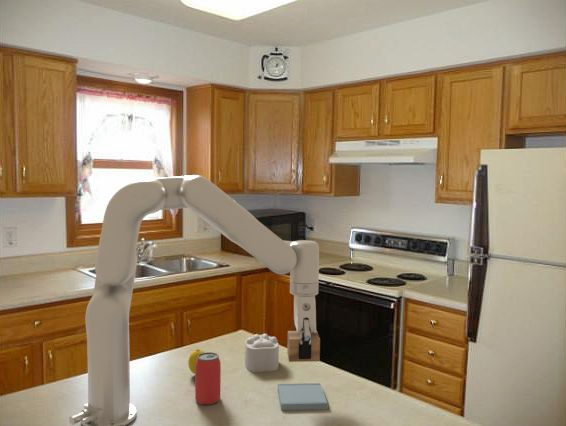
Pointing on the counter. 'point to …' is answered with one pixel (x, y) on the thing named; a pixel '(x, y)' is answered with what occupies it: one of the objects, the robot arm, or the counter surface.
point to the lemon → (194, 359)
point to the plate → (301, 396)
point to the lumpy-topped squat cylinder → (261, 353)
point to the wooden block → (294, 347)
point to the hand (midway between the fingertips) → (303, 352)
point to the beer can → (207, 378)
